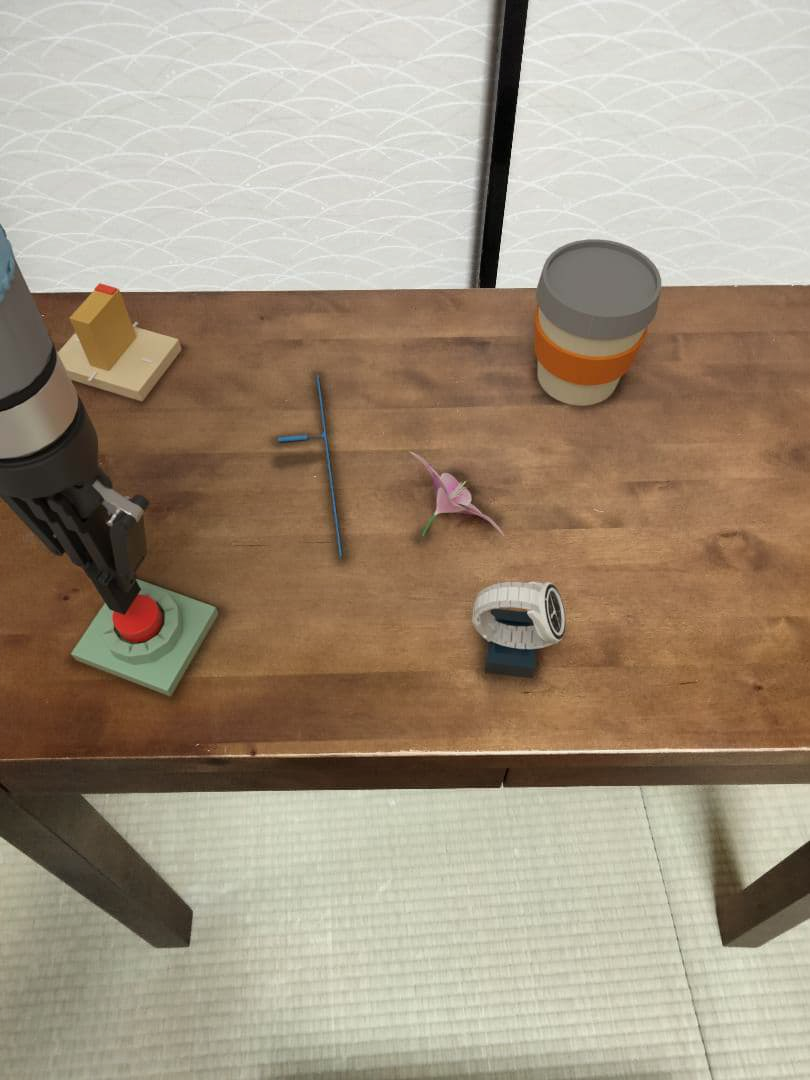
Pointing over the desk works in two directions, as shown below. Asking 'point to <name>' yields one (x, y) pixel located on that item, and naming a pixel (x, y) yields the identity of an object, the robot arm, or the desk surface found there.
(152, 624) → the bell button
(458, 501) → the lily
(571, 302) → the reusable coffee cup
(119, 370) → the plate
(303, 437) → the blue squeegee
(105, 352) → the thumbturn
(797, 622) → the desk surface
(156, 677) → the green button mount
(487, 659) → the watch
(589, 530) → the desk surface
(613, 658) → the desk surface
